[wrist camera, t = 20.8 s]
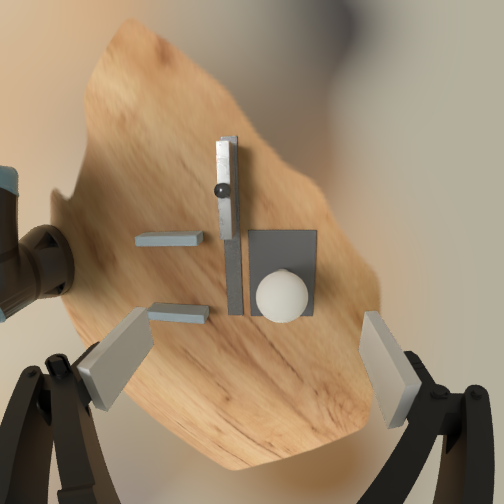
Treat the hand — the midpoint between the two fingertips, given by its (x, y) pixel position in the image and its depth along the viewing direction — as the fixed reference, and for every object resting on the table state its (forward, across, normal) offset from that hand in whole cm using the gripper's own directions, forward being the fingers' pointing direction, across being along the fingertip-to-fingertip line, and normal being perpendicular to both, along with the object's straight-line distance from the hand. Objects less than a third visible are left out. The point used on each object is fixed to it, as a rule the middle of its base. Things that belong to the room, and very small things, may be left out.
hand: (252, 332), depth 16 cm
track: (+27, -6, +1) cm, 27 cm away
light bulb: (+27, +2, -6) cm, 27 cm away
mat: (+27, +2, -6) cm, 27 cm away
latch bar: (+27, -6, +7) cm, 28 cm away
